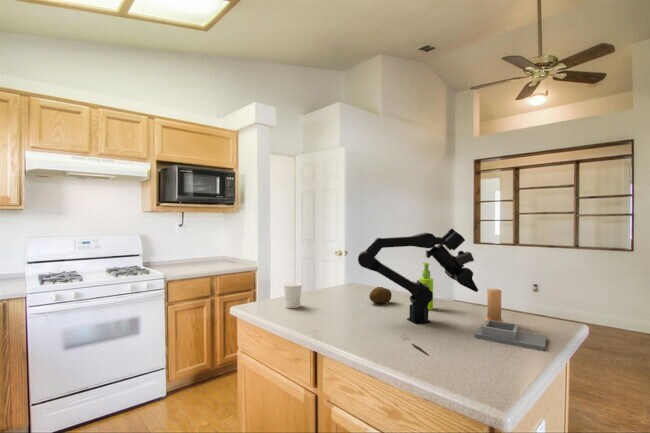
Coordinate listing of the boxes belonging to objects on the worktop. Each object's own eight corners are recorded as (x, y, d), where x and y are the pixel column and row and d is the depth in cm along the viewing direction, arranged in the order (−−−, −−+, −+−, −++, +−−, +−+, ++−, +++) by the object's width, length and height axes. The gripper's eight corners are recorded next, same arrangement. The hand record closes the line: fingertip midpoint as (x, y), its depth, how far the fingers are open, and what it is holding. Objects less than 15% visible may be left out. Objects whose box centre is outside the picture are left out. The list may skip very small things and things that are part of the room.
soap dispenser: (430, 306, 157) (431, 262, 157) (434, 310, 151) (434, 264, 150) (417, 305, 158) (418, 262, 158) (420, 309, 151) (420, 264, 151)
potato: (395, 303, 163) (395, 286, 163) (378, 307, 155) (378, 290, 155) (382, 299, 169) (382, 284, 169) (364, 303, 161) (365, 287, 161)
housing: (474, 337, 117) (474, 326, 117) (482, 327, 128) (482, 317, 128) (544, 351, 106) (544, 339, 106) (546, 338, 116) (546, 327, 116)
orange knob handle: (494, 327, 128) (494, 292, 128) (481, 322, 134) (482, 289, 133) (506, 325, 130) (506, 291, 130) (493, 321, 136) (493, 287, 136)
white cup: (280, 307, 153) (281, 285, 153) (287, 303, 161) (288, 282, 161) (297, 309, 151) (297, 286, 151) (303, 304, 158) (304, 283, 158)
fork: (424, 357, 101) (425, 351, 101) (398, 338, 116) (398, 332, 116) (432, 356, 102) (432, 350, 102) (405, 338, 117) (405, 332, 117)
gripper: (468, 246, 124) (499, 279, 123) (453, 242, 143) (480, 270, 142) (444, 267, 125) (475, 299, 124) (433, 260, 143) (460, 288, 142)
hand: (473, 288), depth 133 cm, fingers open, 9 cm apart
